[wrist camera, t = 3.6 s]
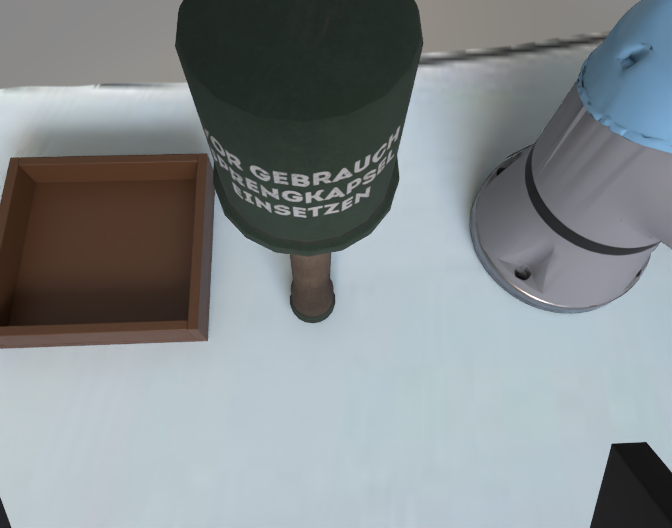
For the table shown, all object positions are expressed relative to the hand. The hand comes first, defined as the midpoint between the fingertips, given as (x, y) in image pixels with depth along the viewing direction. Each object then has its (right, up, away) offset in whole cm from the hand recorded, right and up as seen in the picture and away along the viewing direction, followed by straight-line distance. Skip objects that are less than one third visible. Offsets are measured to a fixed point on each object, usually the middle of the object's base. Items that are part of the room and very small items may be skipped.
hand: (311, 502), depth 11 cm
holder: (-19, +6, +34) cm, 39 cm away
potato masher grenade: (-1, +2, +33) cm, 33 cm away
